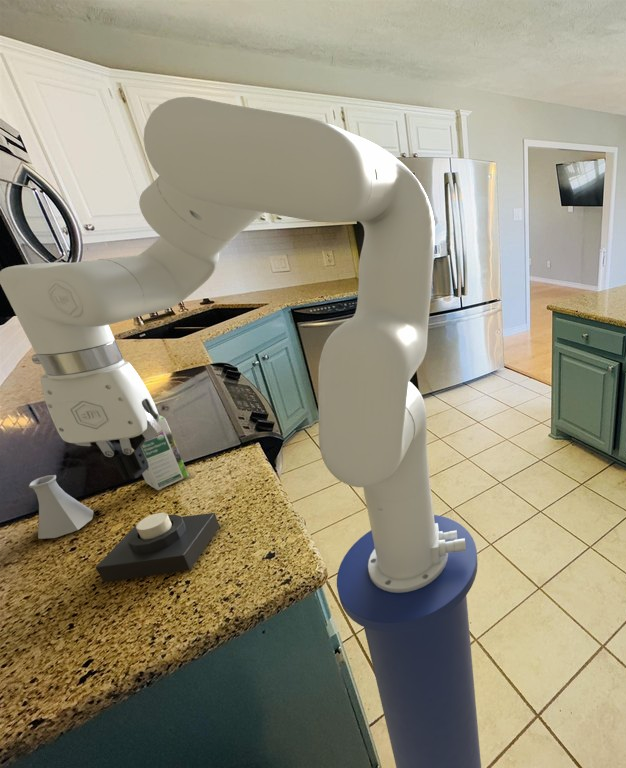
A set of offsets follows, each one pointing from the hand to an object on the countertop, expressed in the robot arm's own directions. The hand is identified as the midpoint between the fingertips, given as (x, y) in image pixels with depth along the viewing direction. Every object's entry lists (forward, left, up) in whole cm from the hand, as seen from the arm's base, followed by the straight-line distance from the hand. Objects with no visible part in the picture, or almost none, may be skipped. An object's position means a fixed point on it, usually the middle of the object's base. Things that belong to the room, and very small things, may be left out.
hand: (136, 473), depth 61 cm
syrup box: (+13, -24, -16) cm, 31 cm away
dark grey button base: (+1, -1, -16) cm, 16 cm away
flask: (+23, -12, -16) cm, 31 cm away
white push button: (+1, -1, -11) cm, 11 cm away
